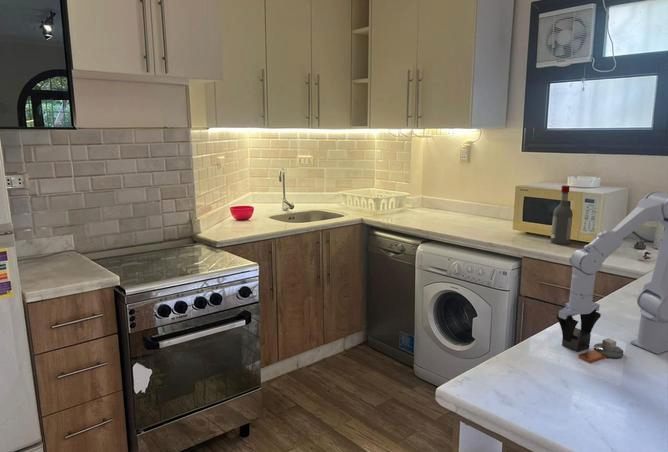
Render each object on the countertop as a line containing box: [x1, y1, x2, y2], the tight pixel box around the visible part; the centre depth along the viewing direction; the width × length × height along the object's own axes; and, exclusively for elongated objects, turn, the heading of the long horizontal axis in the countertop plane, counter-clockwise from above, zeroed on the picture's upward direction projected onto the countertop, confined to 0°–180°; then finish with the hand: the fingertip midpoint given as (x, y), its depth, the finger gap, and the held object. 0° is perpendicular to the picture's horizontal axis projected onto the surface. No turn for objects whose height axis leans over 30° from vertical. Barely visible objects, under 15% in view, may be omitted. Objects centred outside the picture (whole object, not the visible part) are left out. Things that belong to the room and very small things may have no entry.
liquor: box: [550, 185, 574, 246], centre depth 257 cm, size 9×9×30 cm
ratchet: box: [577, 337, 624, 364], centre depth 135 cm, size 14×7×4 cm, turn 117°
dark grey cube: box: [561, 327, 592, 353], centre depth 140 cm, size 5×5×4 cm
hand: (576, 337), depth 140 cm, fingers open, 7 cm apart
